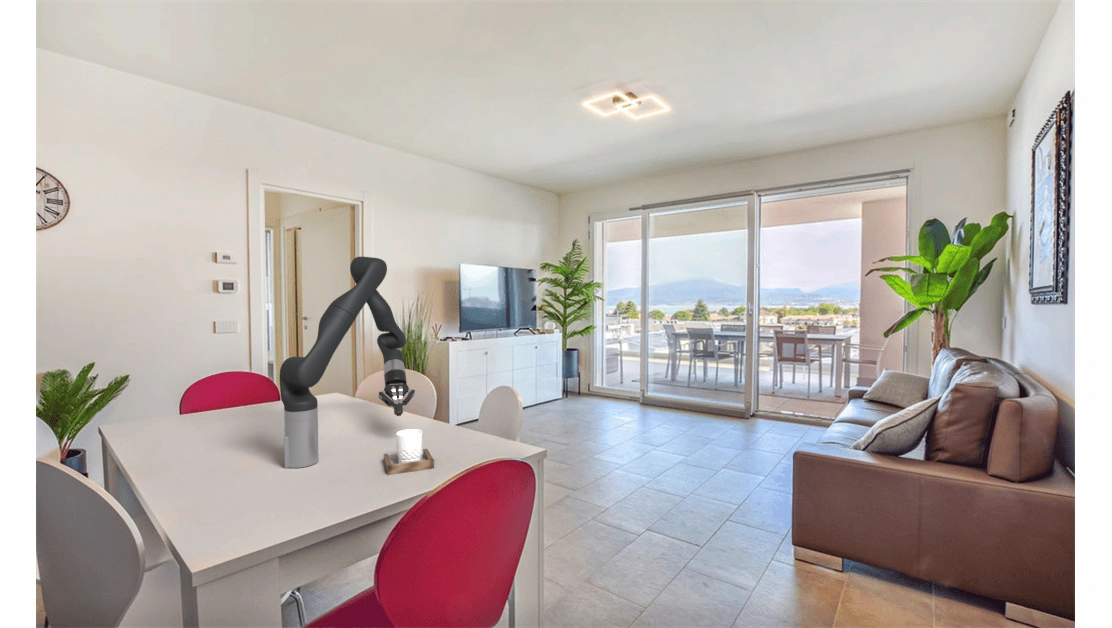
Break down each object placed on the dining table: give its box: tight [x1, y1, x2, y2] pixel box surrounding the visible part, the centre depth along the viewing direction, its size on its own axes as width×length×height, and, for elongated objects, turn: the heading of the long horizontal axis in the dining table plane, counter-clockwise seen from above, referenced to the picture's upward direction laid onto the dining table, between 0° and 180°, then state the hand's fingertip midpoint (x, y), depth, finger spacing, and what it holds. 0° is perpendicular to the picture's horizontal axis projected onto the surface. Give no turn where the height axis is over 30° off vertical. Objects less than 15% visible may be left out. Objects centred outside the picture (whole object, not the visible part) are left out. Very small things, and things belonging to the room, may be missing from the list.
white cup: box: [395, 428, 423, 464], centre depth 154 cm, size 8×8×10 cm
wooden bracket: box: [383, 448, 435, 476], centre depth 153 cm, size 13×12×2 cm
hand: (398, 414), depth 172 cm, fingers closed
